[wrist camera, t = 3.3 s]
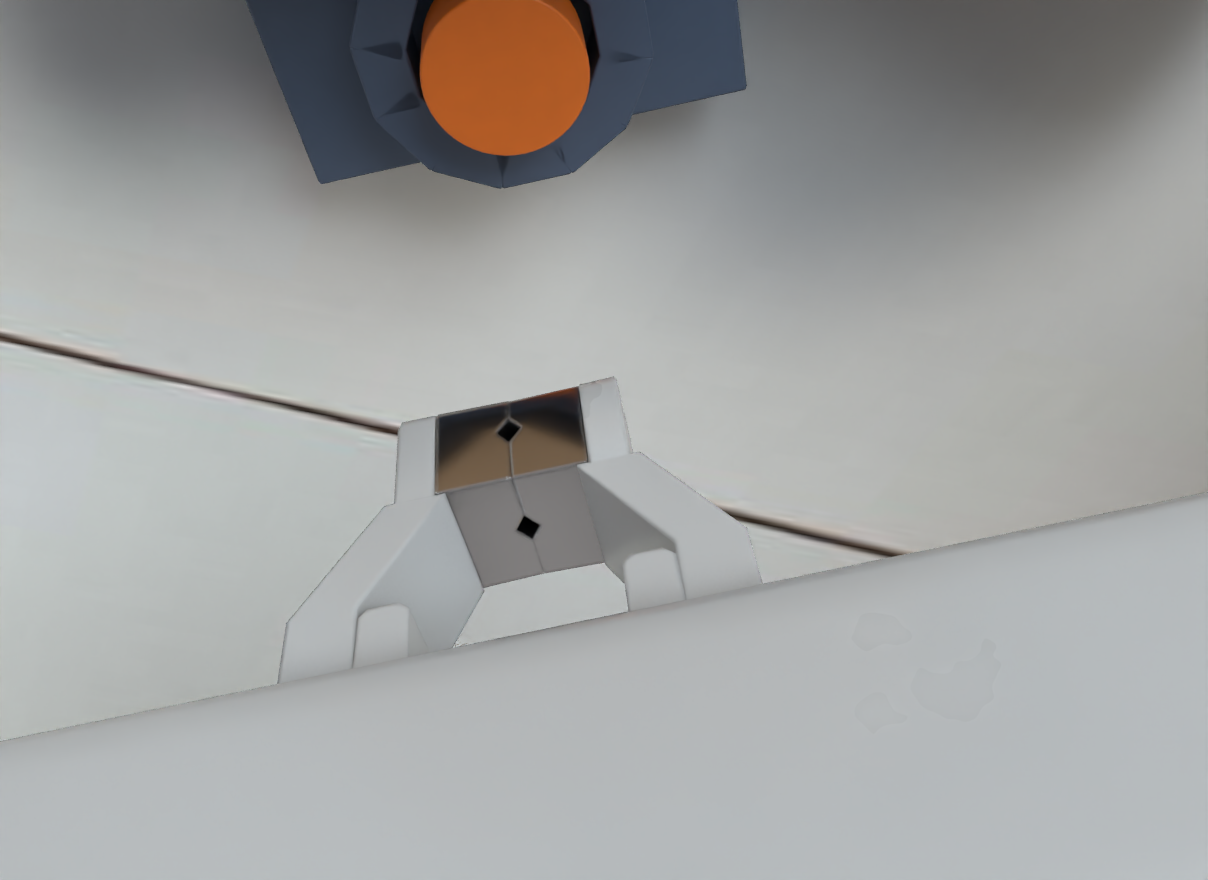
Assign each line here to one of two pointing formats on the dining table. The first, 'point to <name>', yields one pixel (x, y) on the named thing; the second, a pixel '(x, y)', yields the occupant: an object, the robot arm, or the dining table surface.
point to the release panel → (404, 122)
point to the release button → (504, 71)
